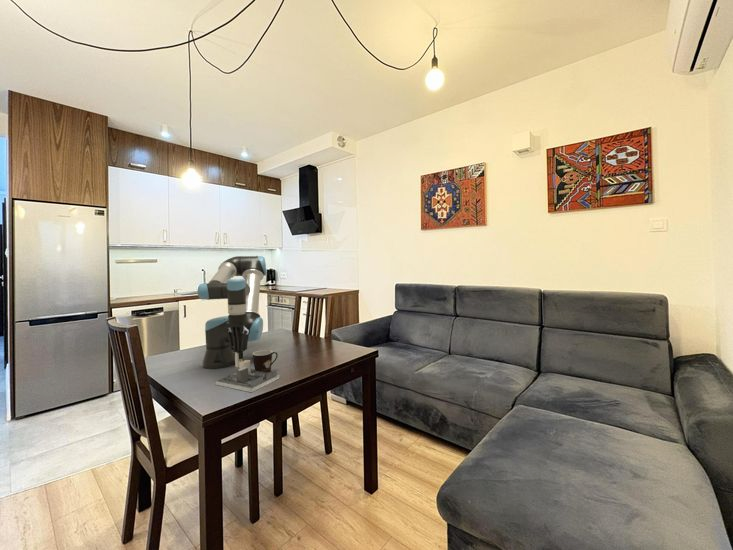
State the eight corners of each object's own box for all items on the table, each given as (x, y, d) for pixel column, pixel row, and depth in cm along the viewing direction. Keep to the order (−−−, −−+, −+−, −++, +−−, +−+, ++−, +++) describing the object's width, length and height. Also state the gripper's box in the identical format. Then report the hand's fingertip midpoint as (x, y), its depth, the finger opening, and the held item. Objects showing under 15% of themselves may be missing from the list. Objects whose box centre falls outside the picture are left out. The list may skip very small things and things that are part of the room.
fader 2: (236, 382, 128) (236, 369, 128) (244, 379, 132) (243, 366, 131) (240, 383, 127) (240, 370, 127) (248, 379, 131) (248, 367, 130)
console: (215, 384, 131) (215, 375, 130) (245, 372, 145) (245, 363, 145) (251, 392, 122) (251, 382, 122) (279, 378, 136) (279, 369, 136)
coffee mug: (254, 379, 137) (253, 356, 136) (251, 373, 145) (251, 351, 144) (281, 374, 142) (280, 352, 142) (277, 368, 150) (276, 348, 149)
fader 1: (239, 373, 138) (239, 362, 138) (246, 370, 142) (246, 359, 142) (243, 374, 137) (243, 362, 137) (250, 371, 141) (250, 360, 141)
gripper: (219, 314, 139) (221, 367, 140) (241, 315, 134) (242, 370, 134) (233, 311, 146) (235, 362, 147) (254, 313, 140) (256, 365, 141)
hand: (239, 366), depth 141 cm, fingers closed
